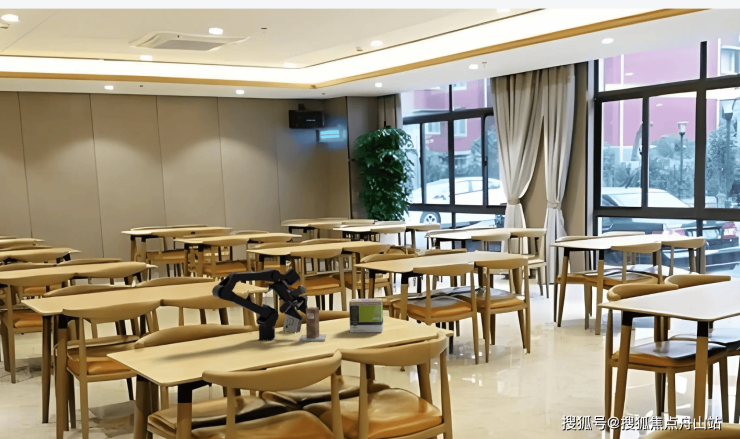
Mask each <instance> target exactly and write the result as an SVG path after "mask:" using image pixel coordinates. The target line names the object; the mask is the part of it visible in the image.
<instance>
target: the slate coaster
mask: <svg viewBox="0 0 740 439" xmlns="http://www.w3.org/2000/svg"><path fill="white" fill-rule="evenodd" d="M326 338H327V334H320V333H319V337H317V338H307V337H306V334H301V336H300V338H299V342H303V343H304V342H326Z"/></svg>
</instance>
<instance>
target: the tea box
mask: <svg viewBox="0 0 740 439" xmlns="http://www.w3.org/2000/svg"><path fill="white" fill-rule="evenodd" d="M348 303H349V307H348V308H349V332H350V333H382V332H383V329H384V310H383V309H384V307H383V306H384V305H383V298H381V297H380V298H351V300H350V301H349V302H348Z"/></svg>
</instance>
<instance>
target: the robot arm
mask: <svg viewBox="0 0 740 439" xmlns="http://www.w3.org/2000/svg"><path fill="white" fill-rule="evenodd" d="M300 280H301V276H300V274H299V273H298V272H297V271H296V270H295V269H294V268H291V267H290V268H289V269H288V270H287V271H285V272H284V273H281V272H280V271H279V269H275V268H266V269H262V270H260V271H250V272H249V271H247V272H230V273H229V274H227V276H226V277H225V278H224V279H222V280H221V281H220V282H219V283H218V284H216V285H214V286H213V288H212V290H211V292H212V295H213V297H214V298H216V299H220V300H223V301H227V302H231V303H233V304H235V305H238V306H240V307H242V308H244V309H246V310H248V311H250V312H252V313H254V314H255V315H257V316H258V318H257V319H256V322H255V323H256V325H258V340H257V341H273V340H274V339H275V338H276V328H275V326H276V323H277V321H278V319H279V312H280V313H281V314H284V315H286V314H287V315H289V316H292V317H294V318H297V319H299V320H302V317H301V315H302V314H301V313H303V314H305V315H306V309H307V308H309V307H308V299H309V297H308V296H307V295H306V293H307V291H306V287H305V286H304V285H303V284H301V285H298V286H297V288H295V289H293V288H291V287H292V286H294V285H295V284H296V283H298V282H299V281H300ZM254 281H255V282H256V281H258V282H259V281H262V282H263V281H264V282H268V283H269V282H270V283H271V284H270V283H269V284H268V285H267V288H268V289H267V292H271V291H273V292H274V293H275V294H276V295H277V297H279V298H278V300H279V301H282V302H283V303H282V304H281V305H280V306H279V312H278V311H277V310H276V309H277V308H275V307H272V306H271V305H268V304H264V303H262V305H260V304H257V303H255V302H254V301H253V302H252V300H251V301H250V300H249V299H247V298H244V297H242V296H241V295H238V294H237V293H235V291H233V290H234V289H235V287H236V285H237V283H238V282H254ZM289 287H290V288H289ZM299 311H300V312H301V313H300V312H299ZM299 313H300V314H299ZM302 321H303V320H302Z"/></svg>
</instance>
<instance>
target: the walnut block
mask: <svg viewBox="0 0 740 439" xmlns="http://www.w3.org/2000/svg"><path fill="white" fill-rule="evenodd" d="M305 324H306V325H305V326H306V327H305V330H306V334H305V335H306V337H307V338H317V337H319V334H320V307H312V306H311V307H310V306H309V307H308V308H307V309H306V314H305Z"/></svg>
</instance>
